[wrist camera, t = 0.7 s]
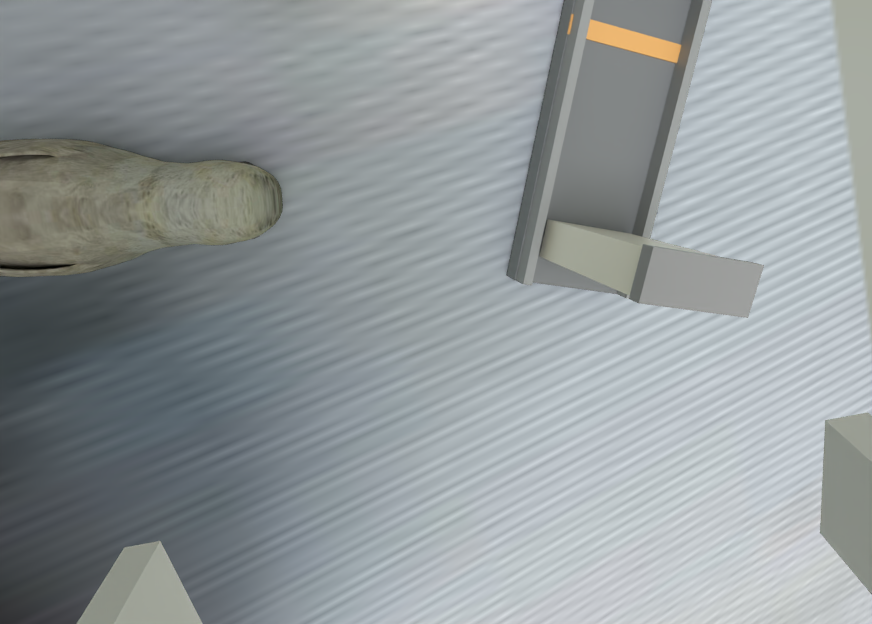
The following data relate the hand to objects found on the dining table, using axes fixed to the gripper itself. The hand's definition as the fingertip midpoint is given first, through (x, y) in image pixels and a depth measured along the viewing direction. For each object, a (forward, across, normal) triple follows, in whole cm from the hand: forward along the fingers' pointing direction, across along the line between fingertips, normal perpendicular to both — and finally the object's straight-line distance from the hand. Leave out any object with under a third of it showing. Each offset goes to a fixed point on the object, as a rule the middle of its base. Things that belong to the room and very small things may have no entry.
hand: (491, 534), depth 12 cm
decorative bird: (+19, -15, +6) cm, 25 cm away
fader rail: (+24, +9, +4) cm, 26 cm away
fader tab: (+22, +7, -2) cm, 23 cm away
